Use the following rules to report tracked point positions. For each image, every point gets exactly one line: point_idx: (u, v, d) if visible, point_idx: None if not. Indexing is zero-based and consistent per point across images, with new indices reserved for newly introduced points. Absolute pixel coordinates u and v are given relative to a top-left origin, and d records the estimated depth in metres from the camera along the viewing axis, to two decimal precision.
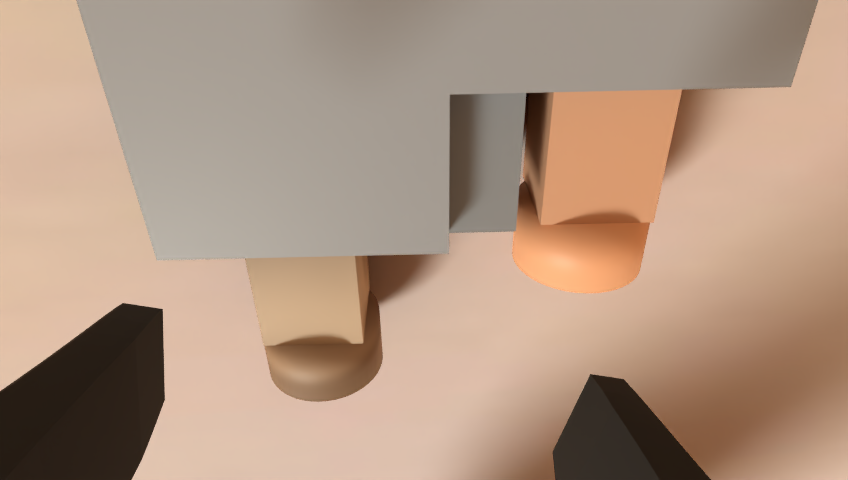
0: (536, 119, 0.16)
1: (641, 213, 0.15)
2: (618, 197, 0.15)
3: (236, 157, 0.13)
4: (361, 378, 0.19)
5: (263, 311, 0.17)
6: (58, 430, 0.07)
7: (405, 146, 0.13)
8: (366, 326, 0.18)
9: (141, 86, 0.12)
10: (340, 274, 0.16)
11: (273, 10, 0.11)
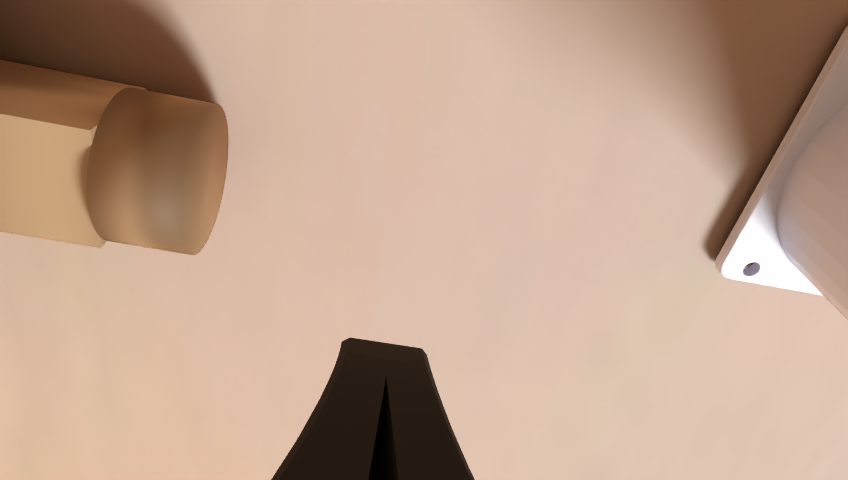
0: None
1: None
2: None
3: None
4: (169, 150, 0.13)
5: (41, 231, 0.14)
6: None
7: None
8: None
9: None
10: None
11: None
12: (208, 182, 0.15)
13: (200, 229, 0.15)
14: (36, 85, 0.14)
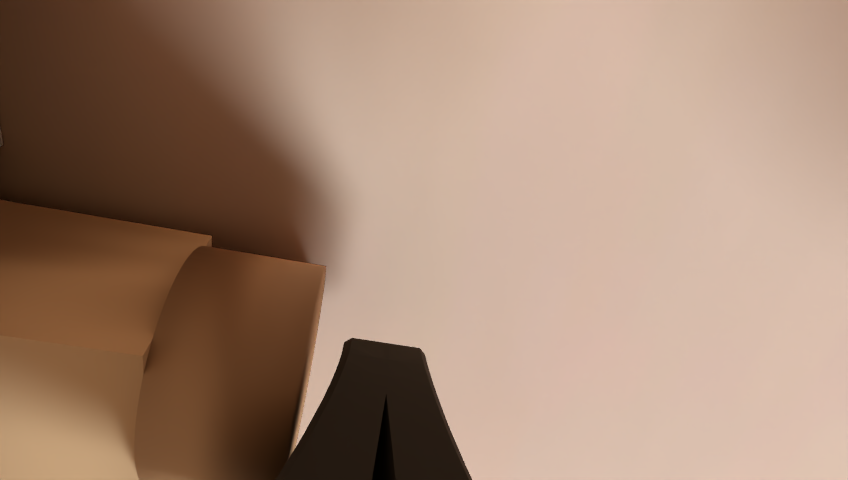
0: None
1: None
2: None
3: None
4: (268, 376, 0.08)
5: None
6: None
7: None
8: None
9: None
10: None
11: None
12: (305, 378, 0.10)
13: (293, 447, 0.10)
14: (50, 252, 0.09)
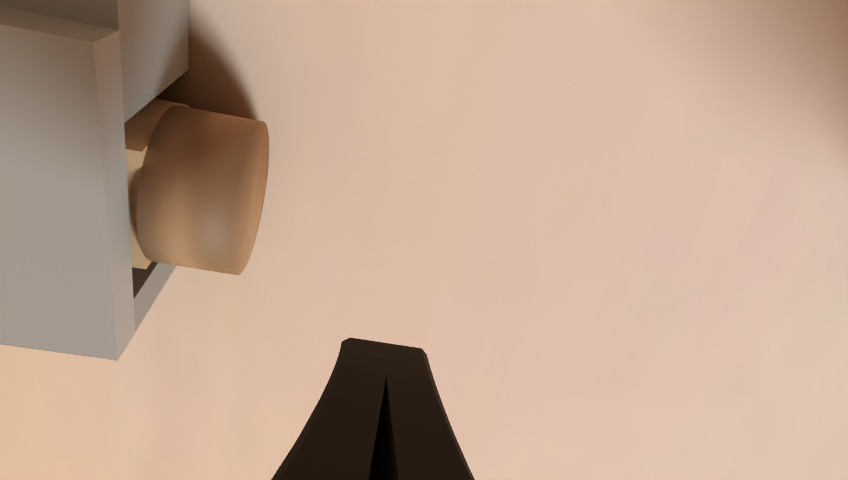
0: None
1: None
2: None
3: None
4: (221, 170, 0.13)
5: None
6: None
7: None
8: None
9: None
10: None
11: None
12: (252, 200, 0.15)
13: (244, 248, 0.15)
14: None
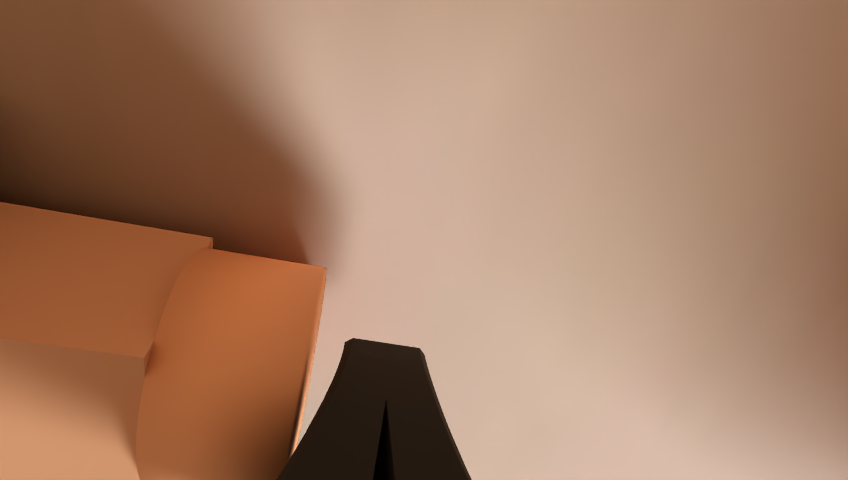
0: None
1: (121, 376, 0.08)
2: (88, 405, 0.08)
3: None
4: None
5: None
6: None
7: None
8: None
9: None
10: None
11: None
12: None
13: None
14: None
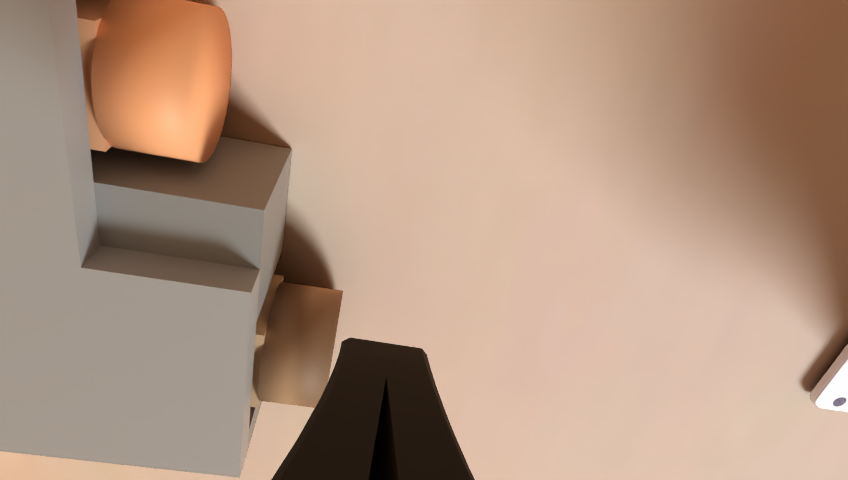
0: None
1: (81, 36, 0.12)
2: None
3: (146, 411, 0.17)
4: (319, 344, 0.17)
5: None
6: None
7: (133, 306, 0.15)
8: None
9: (91, 443, 0.17)
10: None
11: (23, 364, 0.15)
12: None
13: None
14: None
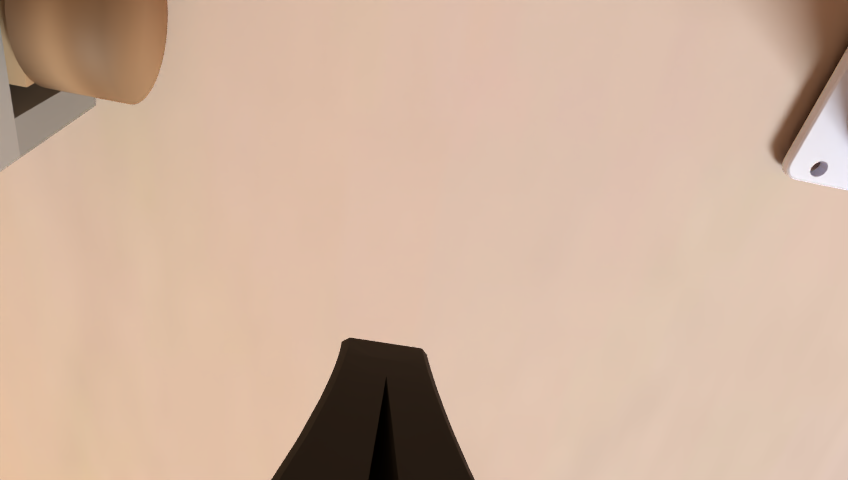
0: None
1: None
2: None
3: None
4: None
5: None
6: None
7: None
8: None
9: None
10: None
11: None
12: (141, 30, 0.14)
13: (133, 78, 0.15)
14: None
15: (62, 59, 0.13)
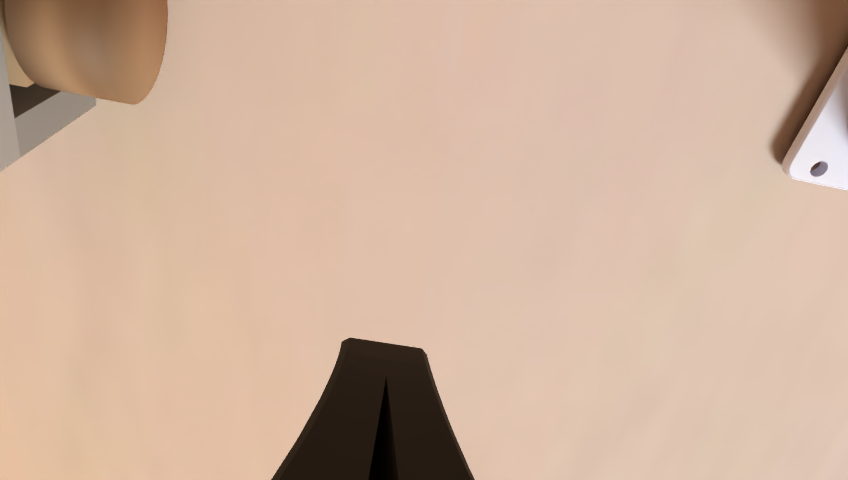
0: None
1: None
2: None
3: None
4: None
5: None
6: None
7: None
8: None
9: None
10: None
11: None
12: (141, 30, 0.14)
13: (133, 78, 0.15)
14: None
15: (62, 59, 0.13)
